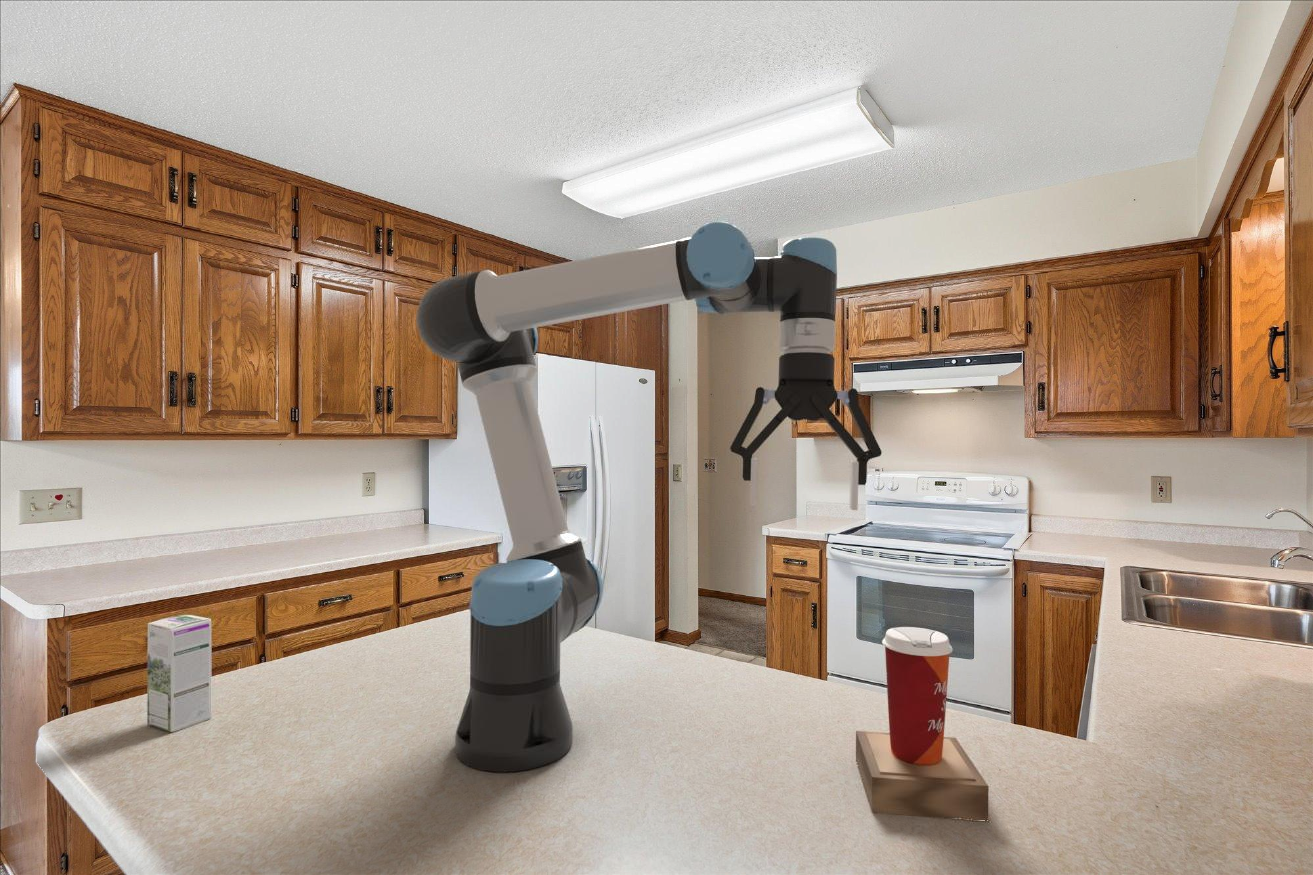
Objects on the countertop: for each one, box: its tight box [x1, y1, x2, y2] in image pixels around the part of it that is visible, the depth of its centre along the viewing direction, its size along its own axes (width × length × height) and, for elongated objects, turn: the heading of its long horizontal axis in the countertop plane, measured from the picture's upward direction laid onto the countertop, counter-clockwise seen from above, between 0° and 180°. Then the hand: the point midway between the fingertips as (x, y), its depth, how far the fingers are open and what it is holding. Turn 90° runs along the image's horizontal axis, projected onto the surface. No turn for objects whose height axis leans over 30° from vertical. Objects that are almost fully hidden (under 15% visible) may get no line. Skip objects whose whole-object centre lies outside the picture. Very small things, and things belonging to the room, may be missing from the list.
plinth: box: [855, 730, 989, 821], centre depth 79 cm, size 12×12×4 cm
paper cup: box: [881, 626, 953, 766], centre depth 79 cm, size 8×8×14 cm
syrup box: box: [146, 614, 212, 733], centre depth 95 cm, size 6×6×14 cm
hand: (802, 507), depth 94 cm, fingers open, 13 cm apart
